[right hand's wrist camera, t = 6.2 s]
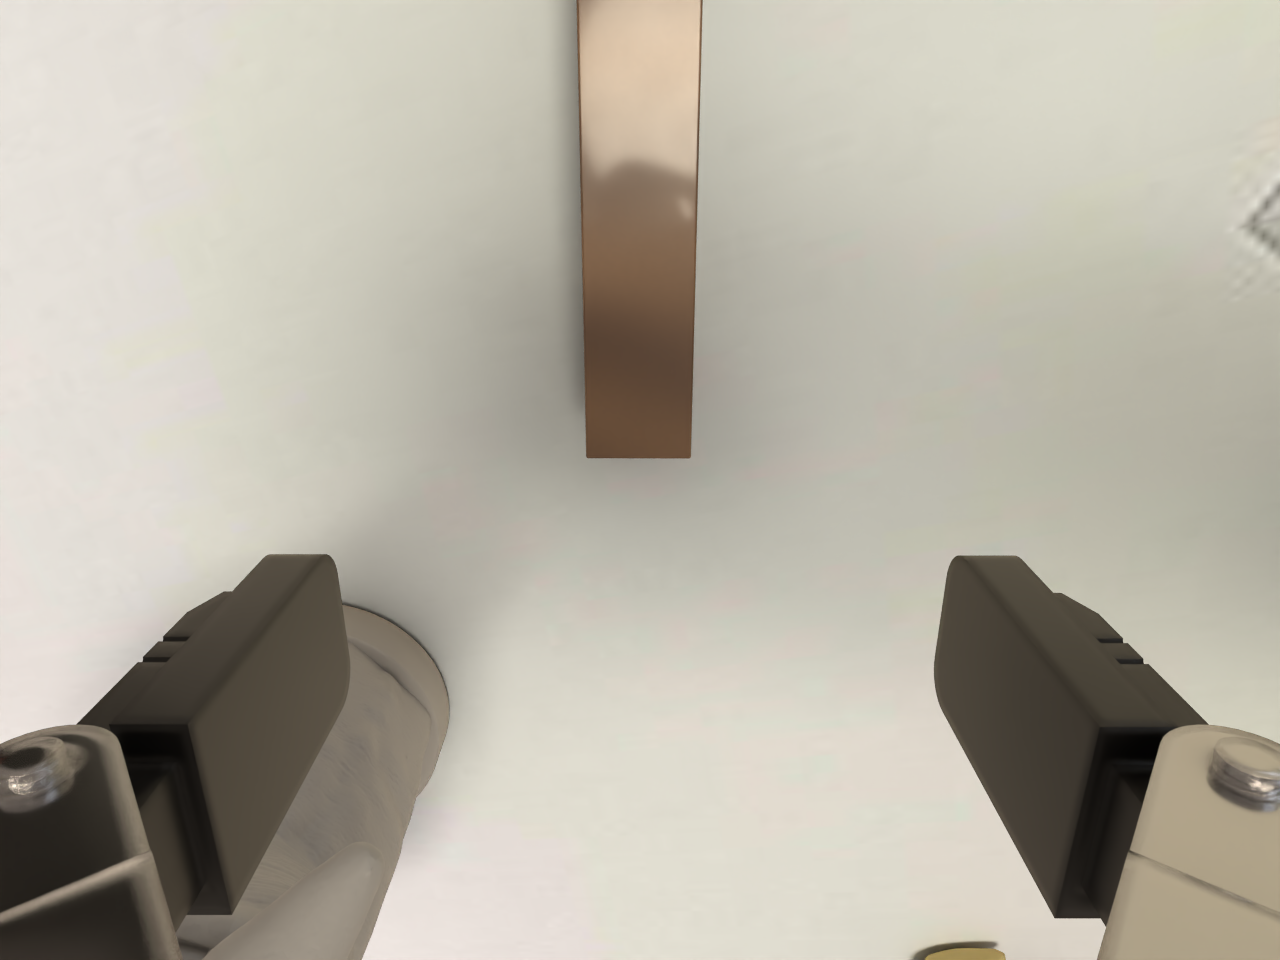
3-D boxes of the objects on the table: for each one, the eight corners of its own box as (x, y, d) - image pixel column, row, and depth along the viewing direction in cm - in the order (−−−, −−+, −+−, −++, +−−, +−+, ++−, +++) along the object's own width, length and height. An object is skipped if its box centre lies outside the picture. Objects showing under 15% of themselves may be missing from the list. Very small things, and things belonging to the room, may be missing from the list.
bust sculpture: (665, 623, 45) (735, 1885, 12) (355, 852, 50) (-167, 2138, 18) (449, 400, 40) (-353, 1437, 8) (136, 679, 46) (-1093, 1961, 13)
